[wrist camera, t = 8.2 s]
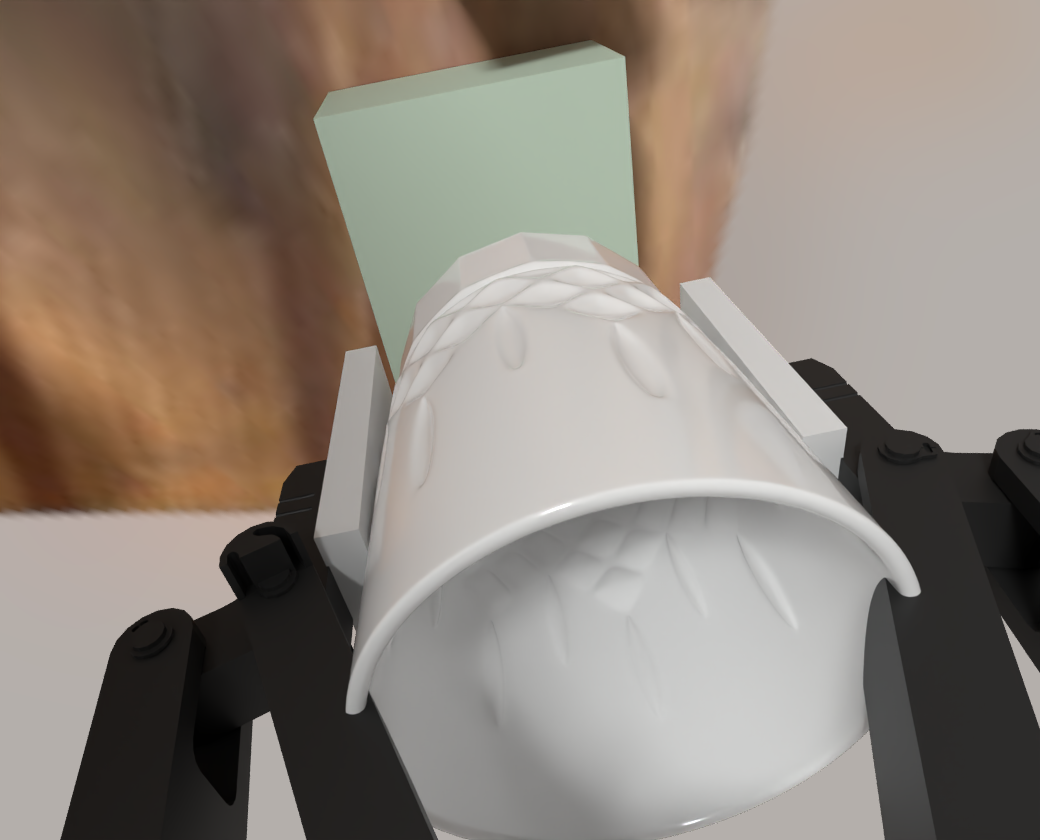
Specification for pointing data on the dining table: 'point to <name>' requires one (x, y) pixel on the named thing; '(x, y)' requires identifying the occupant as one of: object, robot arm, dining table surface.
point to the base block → (478, 166)
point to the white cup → (602, 563)
